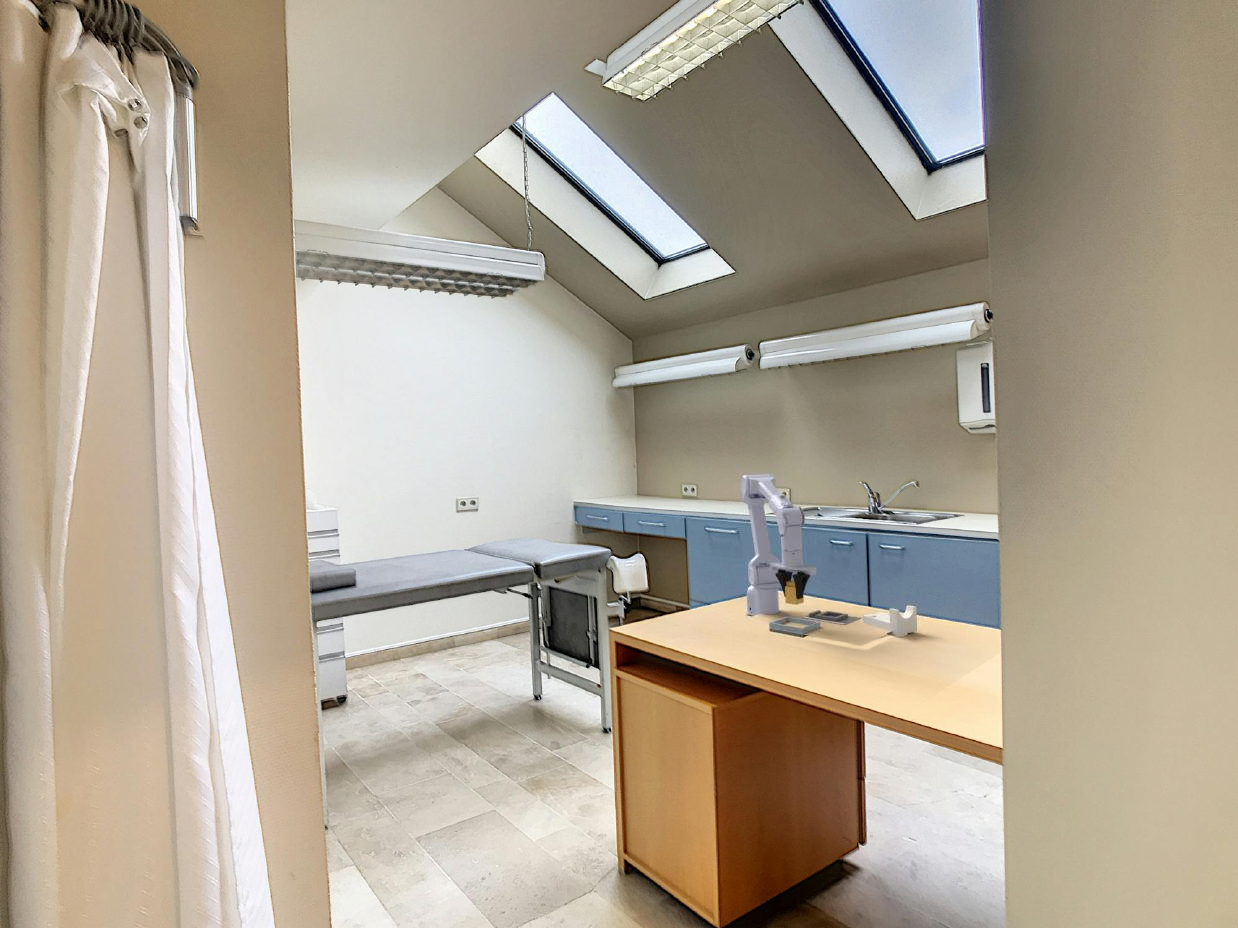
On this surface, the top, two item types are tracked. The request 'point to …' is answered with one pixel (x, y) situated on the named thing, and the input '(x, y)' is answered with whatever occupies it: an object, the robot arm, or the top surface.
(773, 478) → the robot arm
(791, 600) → the block
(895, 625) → the bracket
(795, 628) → the parts tray
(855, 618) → the grey socket base
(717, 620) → the top surface
